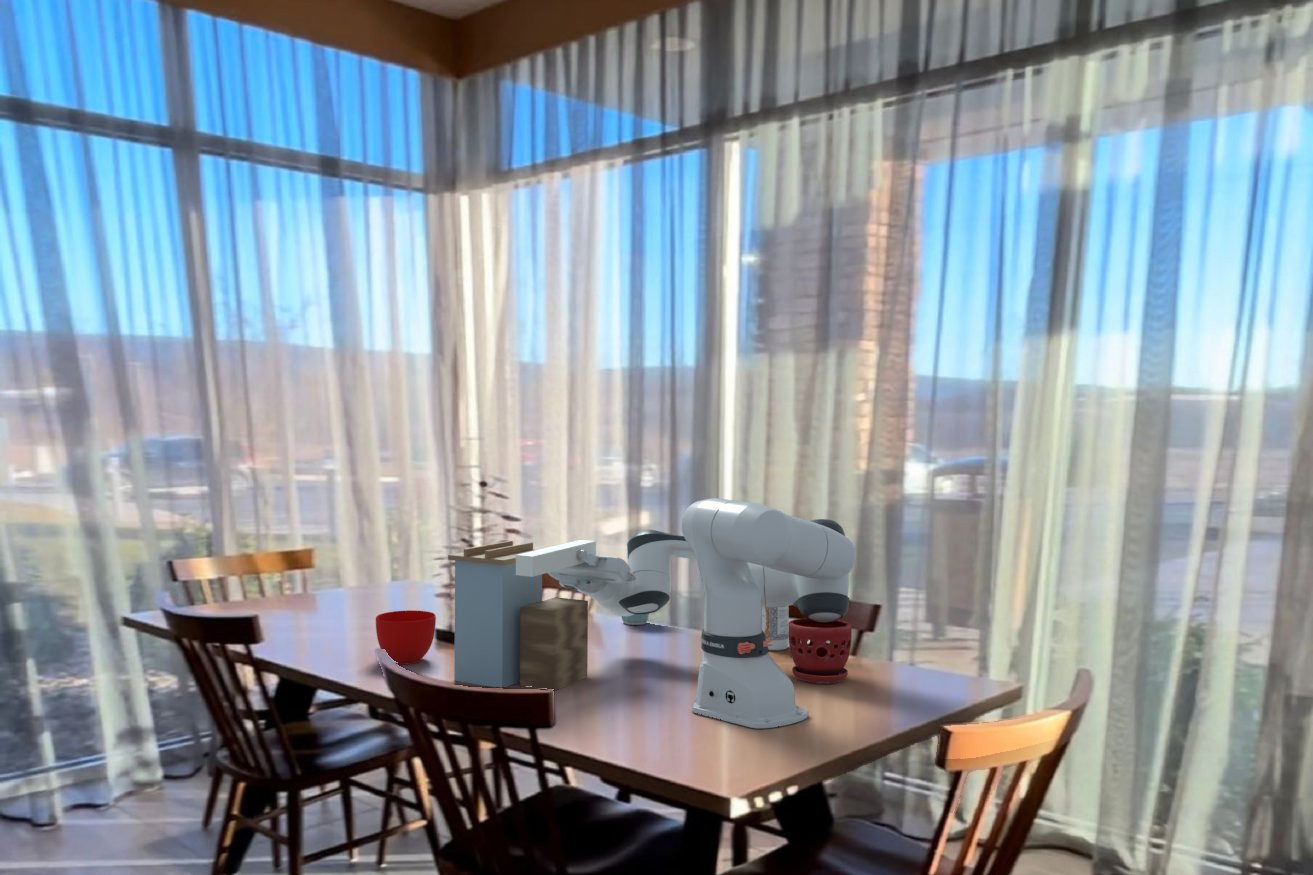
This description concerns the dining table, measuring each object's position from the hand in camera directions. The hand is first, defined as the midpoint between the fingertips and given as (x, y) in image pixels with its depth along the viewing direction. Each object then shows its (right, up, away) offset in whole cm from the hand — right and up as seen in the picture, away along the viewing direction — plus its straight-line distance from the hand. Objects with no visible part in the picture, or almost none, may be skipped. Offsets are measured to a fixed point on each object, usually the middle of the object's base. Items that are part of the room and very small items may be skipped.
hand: (568, 552), depth 214 cm
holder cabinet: (-15, -26, -2) cm, 30 cm away
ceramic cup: (-38, -25, +13) cm, 48 cm away
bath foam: (+46, -26, +27) cm, 60 cm away
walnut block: (-3, -26, -5) cm, 27 cm away
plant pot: (+53, -27, -1) cm, 59 cm away
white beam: (-2, -3, -4) cm, 5 cm away
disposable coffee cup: (+13, -25, +54) cm, 61 cm away
